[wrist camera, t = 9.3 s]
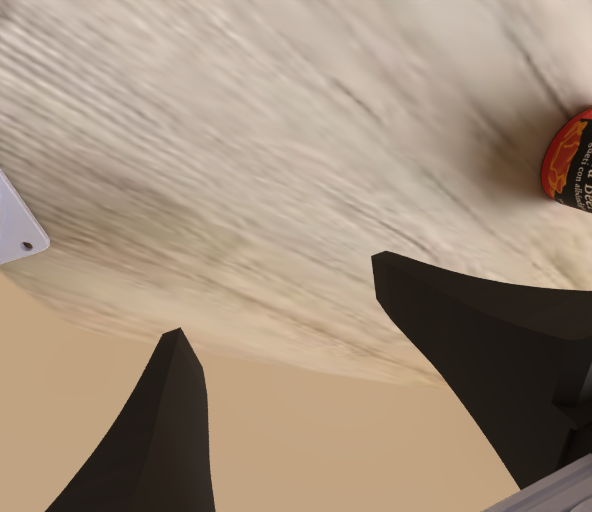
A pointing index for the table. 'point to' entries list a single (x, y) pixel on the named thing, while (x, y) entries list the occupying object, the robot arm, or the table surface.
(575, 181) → the canned food
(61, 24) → the table surface
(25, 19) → the table surface
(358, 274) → the table surface
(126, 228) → the table surface
